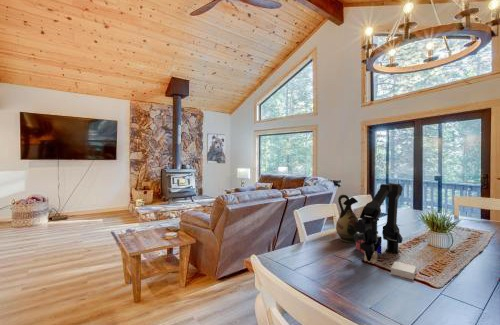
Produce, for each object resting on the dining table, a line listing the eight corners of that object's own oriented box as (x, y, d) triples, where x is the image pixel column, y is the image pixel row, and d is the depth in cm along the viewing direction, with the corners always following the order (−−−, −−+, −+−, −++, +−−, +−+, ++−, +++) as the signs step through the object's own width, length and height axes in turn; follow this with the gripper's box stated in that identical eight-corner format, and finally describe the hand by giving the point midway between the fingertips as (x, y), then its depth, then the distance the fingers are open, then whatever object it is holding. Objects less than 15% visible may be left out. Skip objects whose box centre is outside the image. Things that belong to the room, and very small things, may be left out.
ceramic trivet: (395, 267, 127) (395, 261, 127) (416, 272, 121) (416, 266, 121) (391, 273, 120) (391, 267, 120) (413, 279, 114) (413, 273, 114)
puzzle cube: (365, 255, 142) (365, 237, 142) (355, 248, 152) (355, 232, 151) (381, 254, 143) (381, 236, 143) (370, 247, 153) (371, 231, 153)
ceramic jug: (356, 236, 173) (357, 193, 172) (364, 244, 158) (365, 197, 157) (331, 236, 175) (331, 192, 174) (336, 243, 160) (336, 196, 159)
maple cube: (367, 258, 138) (367, 249, 138) (377, 260, 135) (377, 251, 135) (364, 261, 134) (364, 251, 134) (374, 263, 131) (374, 254, 131)
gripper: (360, 223, 146) (360, 249, 147) (349, 230, 132) (349, 260, 133) (381, 226, 139) (381, 254, 140) (372, 235, 125) (372, 266, 125)
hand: (370, 258), depth 134 cm, fingers open, 7 cm apart
